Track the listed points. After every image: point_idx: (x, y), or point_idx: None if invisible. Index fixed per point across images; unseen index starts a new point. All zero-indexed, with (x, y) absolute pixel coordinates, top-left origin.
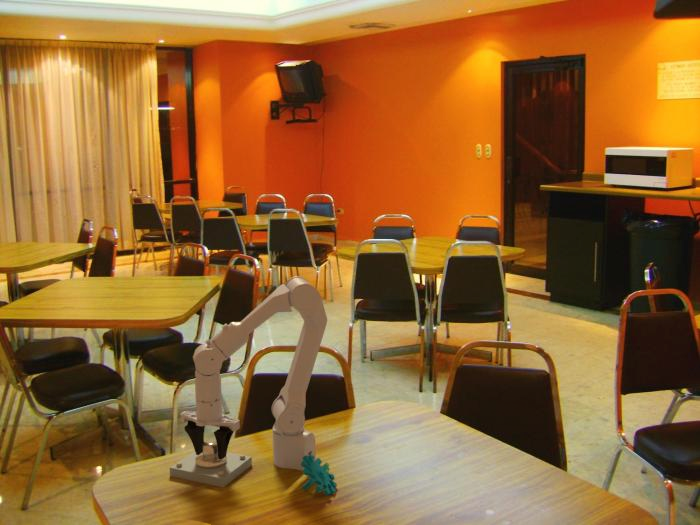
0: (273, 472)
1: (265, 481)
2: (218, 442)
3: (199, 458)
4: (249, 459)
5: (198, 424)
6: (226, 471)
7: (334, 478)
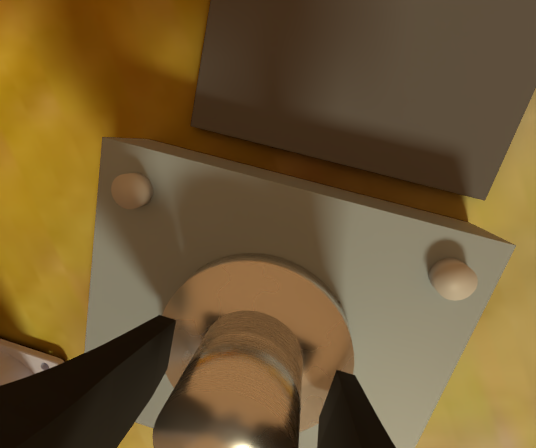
0: (32, 336)
1: (25, 260)
2: (44, 399)
3: (324, 345)
4: None
5: None
6: (124, 232)
7: None
